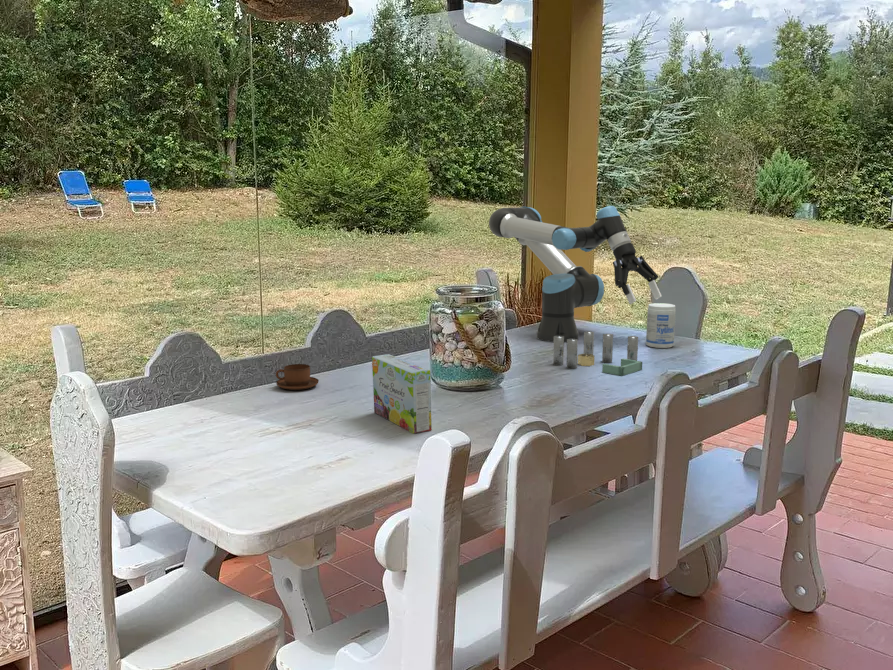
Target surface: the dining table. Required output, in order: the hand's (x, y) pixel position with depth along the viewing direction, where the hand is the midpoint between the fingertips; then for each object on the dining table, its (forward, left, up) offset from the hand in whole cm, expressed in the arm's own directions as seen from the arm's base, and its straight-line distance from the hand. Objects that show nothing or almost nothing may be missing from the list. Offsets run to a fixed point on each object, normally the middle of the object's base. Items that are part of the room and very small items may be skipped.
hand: (646, 300), depth 297 cm
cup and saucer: (-41, -120, -17) cm, 128 cm away
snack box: (+6, -123, -17) cm, 124 cm away
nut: (+2, -39, -16) cm, 42 cm away
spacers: (+5, -38, -16) cm, 41 cm away
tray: (+16, -39, -16) cm, 45 cm away
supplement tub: (+4, +3, -16) cm, 17 cm away
